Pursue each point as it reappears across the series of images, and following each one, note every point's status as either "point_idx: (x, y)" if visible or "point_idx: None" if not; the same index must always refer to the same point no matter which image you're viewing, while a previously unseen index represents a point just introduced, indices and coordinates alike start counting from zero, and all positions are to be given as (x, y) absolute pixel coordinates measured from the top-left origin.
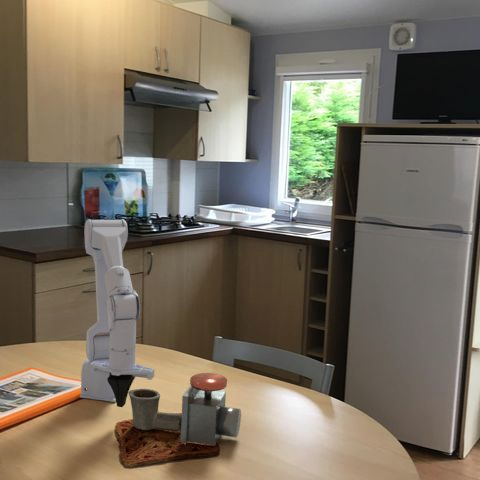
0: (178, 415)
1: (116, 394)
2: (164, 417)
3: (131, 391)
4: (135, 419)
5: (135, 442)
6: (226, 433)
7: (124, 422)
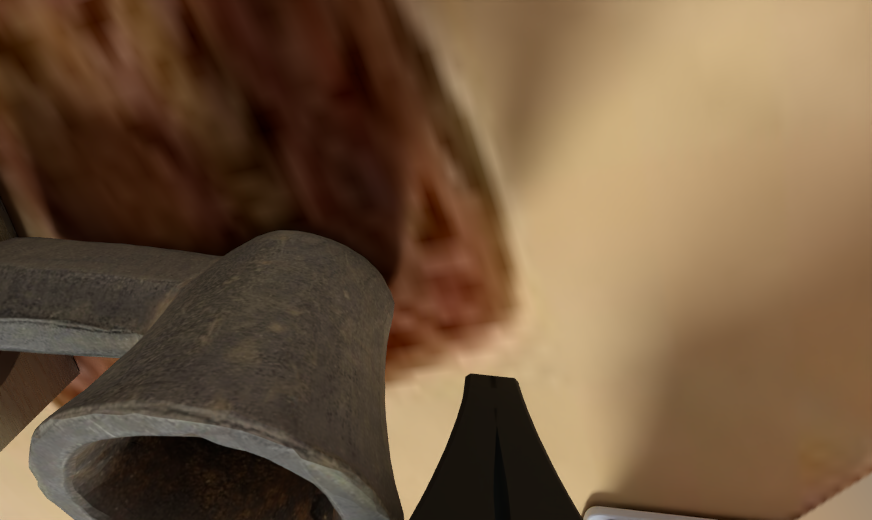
0: None
1: (530, 483)
2: (83, 301)
3: None
4: (333, 275)
5: (272, 45)
6: None
7: (467, 319)
